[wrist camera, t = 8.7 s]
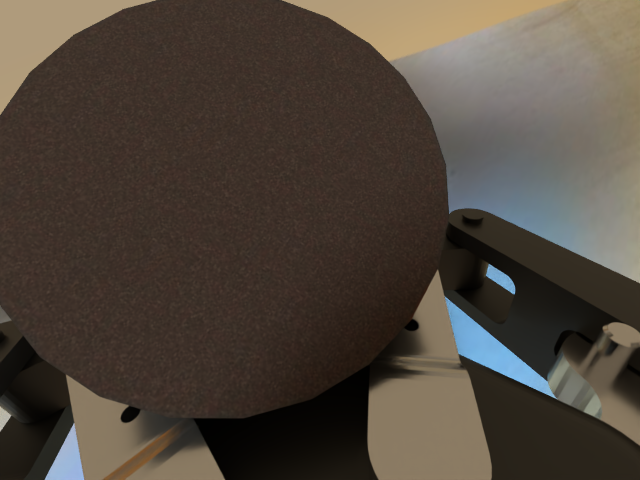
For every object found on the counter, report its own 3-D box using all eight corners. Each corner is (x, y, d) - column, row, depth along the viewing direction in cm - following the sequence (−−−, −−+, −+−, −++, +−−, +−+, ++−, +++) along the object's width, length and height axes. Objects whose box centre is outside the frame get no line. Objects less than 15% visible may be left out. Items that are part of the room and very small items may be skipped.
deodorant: (324, 328, 18) (488, 384, 4) (220, 339, 17) (-71, 461, 3) (315, 232, 20) (413, 1, 5) (218, 237, 19) (10, -20, 4)
